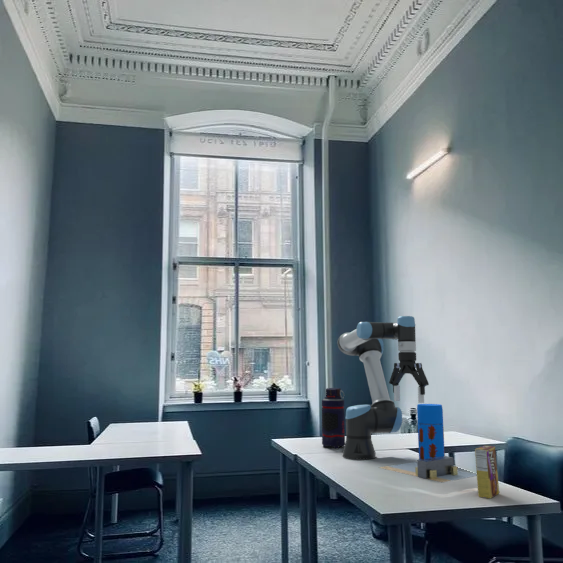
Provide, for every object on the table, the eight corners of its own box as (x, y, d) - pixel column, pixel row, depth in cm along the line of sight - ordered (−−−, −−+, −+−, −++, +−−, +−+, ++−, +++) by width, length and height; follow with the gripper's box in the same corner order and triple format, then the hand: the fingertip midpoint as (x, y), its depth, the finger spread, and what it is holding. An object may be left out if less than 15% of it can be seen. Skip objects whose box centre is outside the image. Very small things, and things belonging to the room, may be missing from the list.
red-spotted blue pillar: (446, 466, 219) (443, 405, 223) (420, 465, 222) (417, 405, 225) (443, 462, 230) (441, 404, 234) (418, 461, 232) (416, 403, 236)
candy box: (486, 491, 176) (483, 445, 179) (499, 493, 174) (496, 446, 176) (476, 496, 170) (474, 448, 172) (490, 499, 167) (487, 449, 169)
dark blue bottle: (338, 449, 263) (337, 388, 268) (318, 447, 269) (317, 388, 274) (350, 445, 275) (349, 387, 279) (330, 443, 281) (329, 387, 286)
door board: (378, 470, 212) (378, 467, 212) (415, 464, 224) (415, 461, 224) (442, 485, 186) (442, 482, 186) (480, 477, 198) (480, 475, 198)
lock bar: (445, 472, 204) (445, 456, 205) (454, 473, 200) (453, 457, 201) (417, 476, 195) (417, 460, 196) (426, 478, 192) (425, 461, 192)
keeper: (415, 475, 197) (415, 467, 198) (440, 471, 205) (440, 463, 206) (432, 479, 191) (432, 470, 191) (457, 474, 199) (457, 466, 199)
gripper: (380, 352, 234) (381, 400, 231) (423, 351, 214) (425, 404, 210) (392, 352, 238) (393, 399, 235) (435, 351, 218) (438, 403, 215)
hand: (408, 401), depth 223 cm, fingers open, 13 cm apart
